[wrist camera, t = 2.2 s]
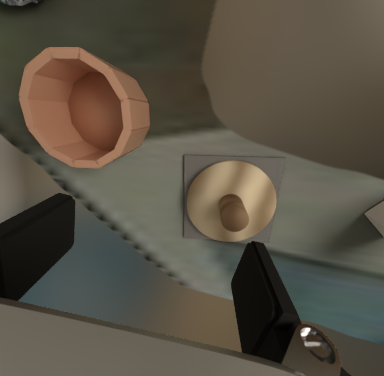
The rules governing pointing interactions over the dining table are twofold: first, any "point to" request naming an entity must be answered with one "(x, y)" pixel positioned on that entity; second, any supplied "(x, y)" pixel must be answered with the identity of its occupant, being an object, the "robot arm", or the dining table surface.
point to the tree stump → (18, 2)
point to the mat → (200, 162)
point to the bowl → (82, 107)
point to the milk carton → (377, 217)
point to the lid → (231, 200)
